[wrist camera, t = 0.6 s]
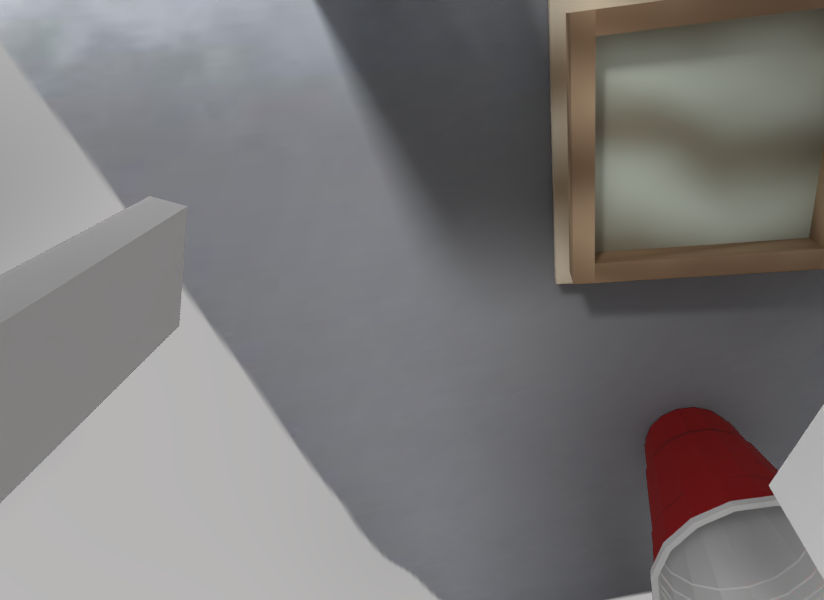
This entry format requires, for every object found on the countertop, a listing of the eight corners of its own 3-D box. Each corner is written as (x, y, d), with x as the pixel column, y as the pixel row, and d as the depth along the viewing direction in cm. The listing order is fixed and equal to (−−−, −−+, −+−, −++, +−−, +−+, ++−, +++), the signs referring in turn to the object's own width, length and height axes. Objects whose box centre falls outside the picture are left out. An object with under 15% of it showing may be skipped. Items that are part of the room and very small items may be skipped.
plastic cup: (756, 504, 44) (843, 663, 33) (603, 495, 45) (637, 645, 34) (791, 377, 39) (905, 513, 28) (619, 371, 40) (665, 499, 30)
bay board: (544, -138, 29) (549, -154, 27) (912, -202, 27) (959, -227, 24) (555, 277, 38) (559, 297, 35) (831, 260, 36) (859, 280, 33)
